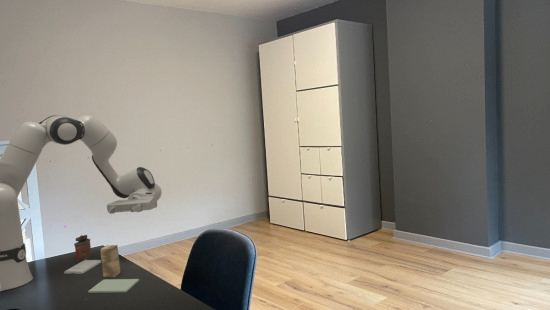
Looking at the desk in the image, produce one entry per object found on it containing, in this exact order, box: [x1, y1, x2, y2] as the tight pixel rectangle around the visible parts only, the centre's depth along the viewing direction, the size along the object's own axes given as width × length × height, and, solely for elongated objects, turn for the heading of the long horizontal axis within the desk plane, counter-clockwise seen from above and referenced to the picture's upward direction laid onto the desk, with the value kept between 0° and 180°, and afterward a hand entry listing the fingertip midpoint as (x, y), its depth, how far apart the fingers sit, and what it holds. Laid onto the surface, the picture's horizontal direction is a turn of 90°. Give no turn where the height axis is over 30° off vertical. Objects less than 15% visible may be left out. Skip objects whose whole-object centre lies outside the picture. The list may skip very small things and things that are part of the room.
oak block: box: [100, 244, 121, 278], centre depth 160 cm, size 4×4×11 cm
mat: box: [87, 278, 140, 294], centre depth 148 cm, size 14×10×1 cm
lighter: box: [73, 234, 93, 262], centre depth 183 cm, size 8×3×10 cm, turn 162°
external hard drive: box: [63, 259, 102, 275], centre depth 170 cm, size 2×8×12 cm
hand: (121, 211), depth 168 cm, fingers open, 8 cm apart
